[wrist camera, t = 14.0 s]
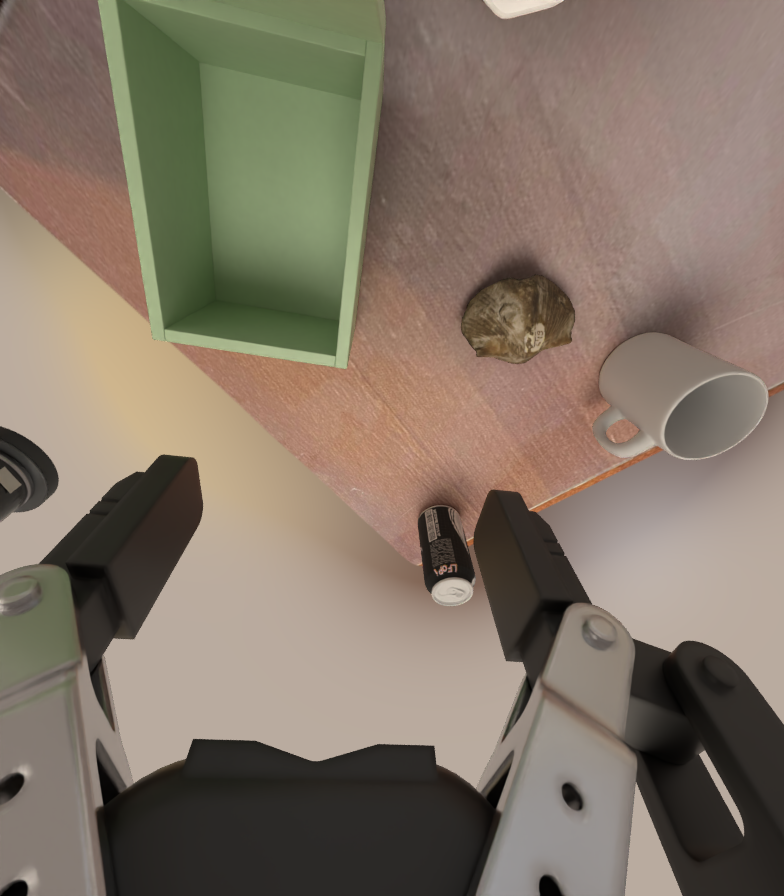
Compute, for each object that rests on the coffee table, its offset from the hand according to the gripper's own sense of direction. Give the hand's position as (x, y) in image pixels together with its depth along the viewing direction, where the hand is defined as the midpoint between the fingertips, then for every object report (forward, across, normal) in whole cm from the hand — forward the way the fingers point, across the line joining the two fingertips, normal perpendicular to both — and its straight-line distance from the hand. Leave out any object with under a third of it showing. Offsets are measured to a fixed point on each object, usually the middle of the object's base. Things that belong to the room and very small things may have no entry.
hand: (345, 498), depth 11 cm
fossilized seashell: (+30, -14, 0) cm, 33 cm away
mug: (+30, -29, +5) cm, 42 cm away
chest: (+30, +8, -6) cm, 31 cm away
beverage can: (+30, -13, +27) cm, 42 cm away
